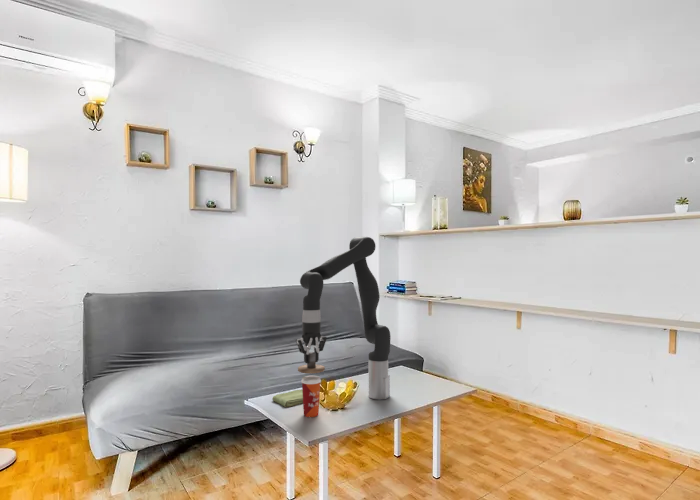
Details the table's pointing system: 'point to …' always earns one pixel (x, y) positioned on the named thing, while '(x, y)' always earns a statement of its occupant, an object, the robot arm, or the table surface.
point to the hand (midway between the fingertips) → (311, 362)
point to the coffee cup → (311, 395)
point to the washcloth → (289, 398)
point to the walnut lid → (311, 365)
